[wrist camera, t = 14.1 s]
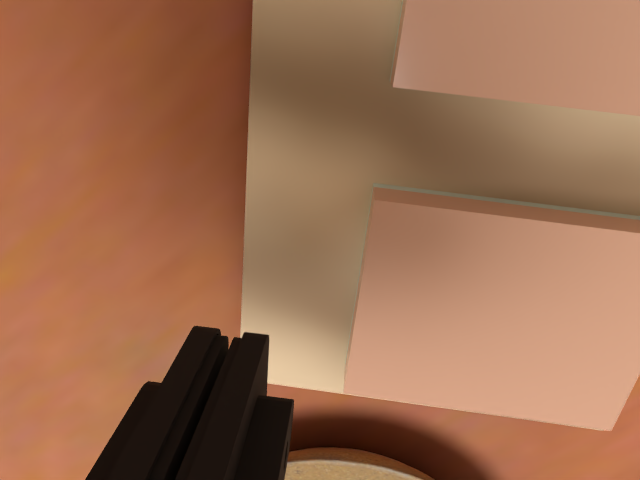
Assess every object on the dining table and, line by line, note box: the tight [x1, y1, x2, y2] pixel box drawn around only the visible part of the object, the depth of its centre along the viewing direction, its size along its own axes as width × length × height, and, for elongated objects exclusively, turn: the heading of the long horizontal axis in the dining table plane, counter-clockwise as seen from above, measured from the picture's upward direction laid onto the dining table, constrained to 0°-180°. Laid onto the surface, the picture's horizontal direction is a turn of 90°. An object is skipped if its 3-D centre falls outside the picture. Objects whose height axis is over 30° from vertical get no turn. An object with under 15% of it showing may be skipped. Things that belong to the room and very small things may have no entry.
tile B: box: [343, 183, 640, 431], centre depth 15 cm, size 7×2×9 cm
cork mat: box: [240, 0, 640, 431], centre depth 14 cm, size 20×14×1 cm
